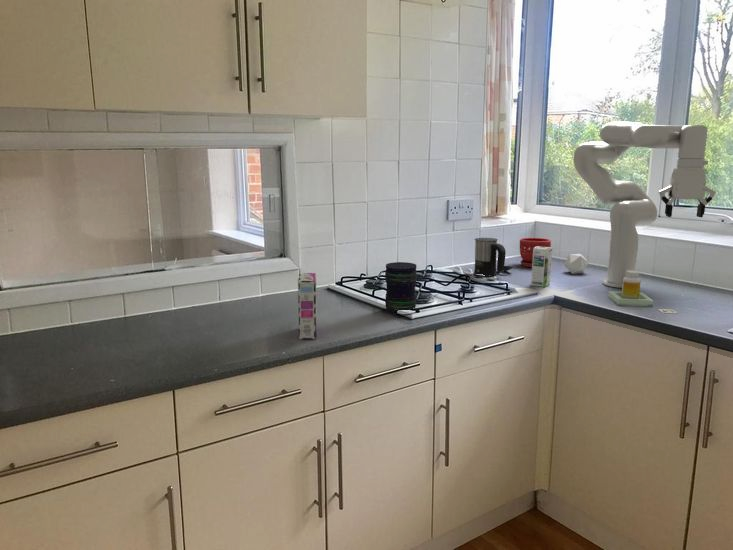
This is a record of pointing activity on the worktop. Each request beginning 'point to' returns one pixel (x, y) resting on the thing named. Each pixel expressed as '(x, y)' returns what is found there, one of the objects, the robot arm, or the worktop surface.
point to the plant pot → (531, 248)
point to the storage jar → (400, 286)
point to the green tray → (642, 300)
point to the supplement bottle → (631, 285)
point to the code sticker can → (666, 311)
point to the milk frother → (489, 257)
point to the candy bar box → (307, 306)
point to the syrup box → (541, 266)
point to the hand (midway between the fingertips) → (684, 216)
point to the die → (576, 263)
